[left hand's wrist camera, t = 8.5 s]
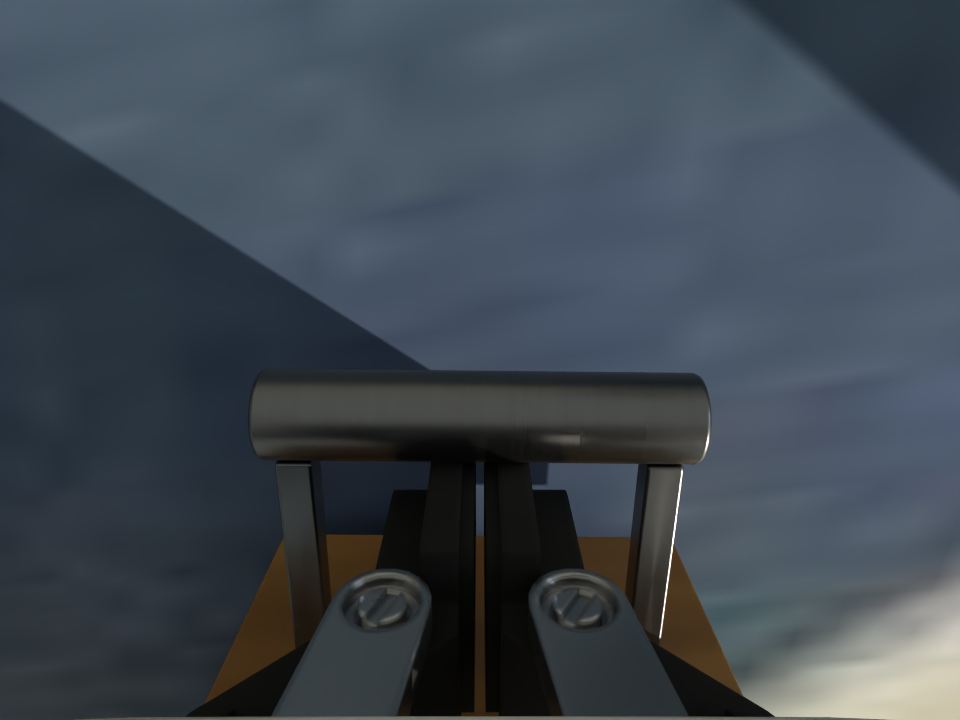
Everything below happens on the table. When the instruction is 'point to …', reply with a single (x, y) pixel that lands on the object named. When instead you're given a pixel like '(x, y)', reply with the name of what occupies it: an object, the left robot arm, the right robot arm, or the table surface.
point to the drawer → (475, 438)
